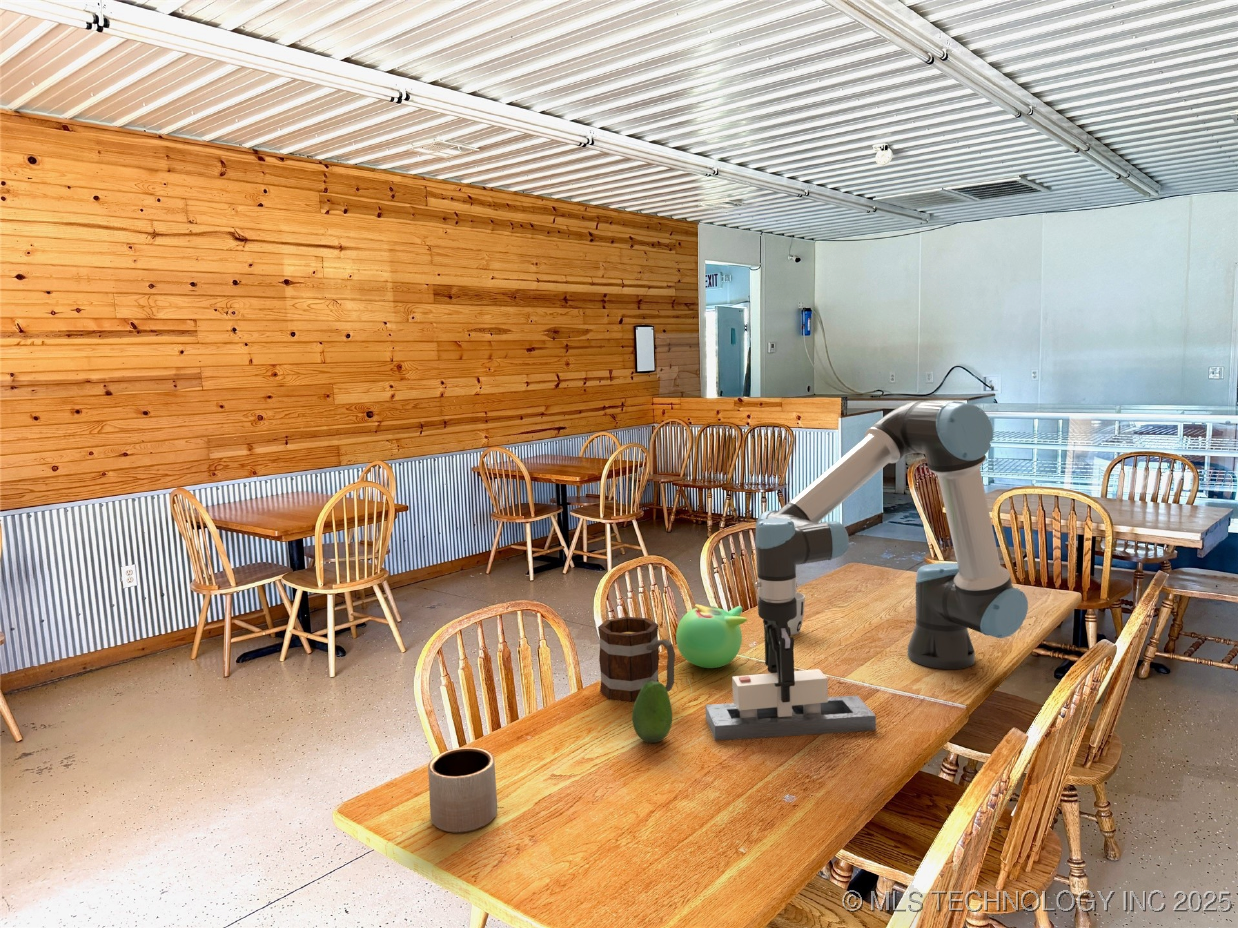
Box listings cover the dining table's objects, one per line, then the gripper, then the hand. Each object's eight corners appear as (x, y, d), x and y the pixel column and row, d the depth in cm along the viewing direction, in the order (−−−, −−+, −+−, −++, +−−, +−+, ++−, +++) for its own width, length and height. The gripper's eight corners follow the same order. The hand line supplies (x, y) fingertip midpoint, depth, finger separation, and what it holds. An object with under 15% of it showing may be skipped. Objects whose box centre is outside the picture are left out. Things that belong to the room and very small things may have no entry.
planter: (435, 801, 142) (432, 748, 141) (499, 797, 143) (496, 744, 142) (426, 837, 131) (422, 780, 130) (495, 832, 132) (492, 775, 131)
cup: (805, 637, 218) (805, 600, 217) (773, 636, 220) (773, 599, 219) (804, 627, 226) (804, 591, 225) (774, 626, 228) (774, 590, 227)
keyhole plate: (857, 708, 174) (857, 695, 173) (875, 730, 164) (875, 715, 164) (705, 718, 171) (705, 704, 171) (715, 740, 161) (714, 725, 161)
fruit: (625, 735, 165) (623, 677, 163) (661, 727, 168) (660, 670, 166) (642, 752, 157) (641, 692, 156) (680, 744, 160) (678, 684, 159)
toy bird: (675, 651, 211) (674, 595, 209) (742, 650, 210) (741, 594, 208) (678, 679, 193) (676, 617, 191) (751, 677, 192) (750, 616, 191)
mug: (587, 691, 187) (585, 627, 185) (627, 674, 197) (626, 612, 195) (654, 715, 174) (652, 646, 172) (693, 695, 184) (692, 629, 182)
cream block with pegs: (820, 713, 171) (819, 666, 169) (828, 723, 166) (827, 675, 164) (733, 721, 169) (732, 674, 168) (739, 732, 164) (737, 683, 163)
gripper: (747, 586, 173) (751, 693, 176) (770, 612, 155) (774, 731, 158) (782, 583, 173) (786, 690, 176) (810, 609, 155) (813, 727, 158)
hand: (780, 709), depth 167 cm, fingers closed on cream block with pegs, 5 cm apart
